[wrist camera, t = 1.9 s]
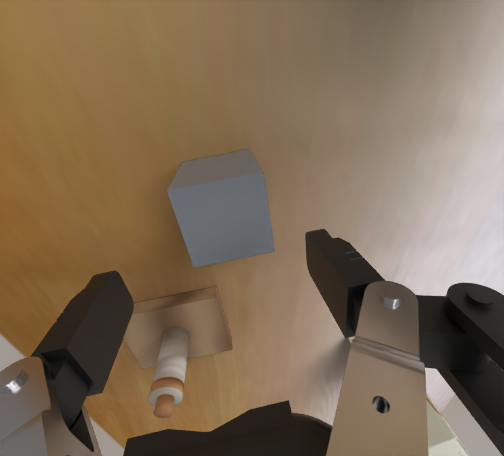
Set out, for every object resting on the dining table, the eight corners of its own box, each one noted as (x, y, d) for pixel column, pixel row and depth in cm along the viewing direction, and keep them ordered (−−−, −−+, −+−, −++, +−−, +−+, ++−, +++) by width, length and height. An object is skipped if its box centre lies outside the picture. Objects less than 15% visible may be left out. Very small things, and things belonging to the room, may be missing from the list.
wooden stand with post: (215, 286, 25) (214, 369, 17) (231, 337, 28) (236, 423, 21) (117, 306, 24) (72, 400, 17) (146, 355, 28) (120, 449, 21)
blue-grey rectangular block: (249, 148, 19) (263, 171, 13) (259, 209, 21) (274, 251, 15) (182, 161, 19) (166, 190, 13) (200, 221, 21) (193, 268, 15)
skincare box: (391, 342, 33) (473, 459, 22) (361, 357, 34) (427, 476, 23) (375, 318, 30) (460, 438, 19) (343, 335, 31) (409, 459, 20)
